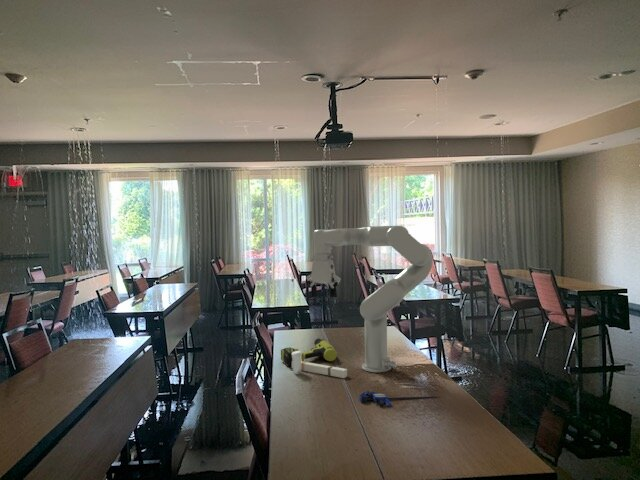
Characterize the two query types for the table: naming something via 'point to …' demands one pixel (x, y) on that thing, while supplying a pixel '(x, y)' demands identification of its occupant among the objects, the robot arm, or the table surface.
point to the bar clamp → (382, 398)
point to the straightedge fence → (323, 369)
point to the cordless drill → (310, 352)
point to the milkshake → (297, 361)
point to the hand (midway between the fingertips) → (323, 296)
